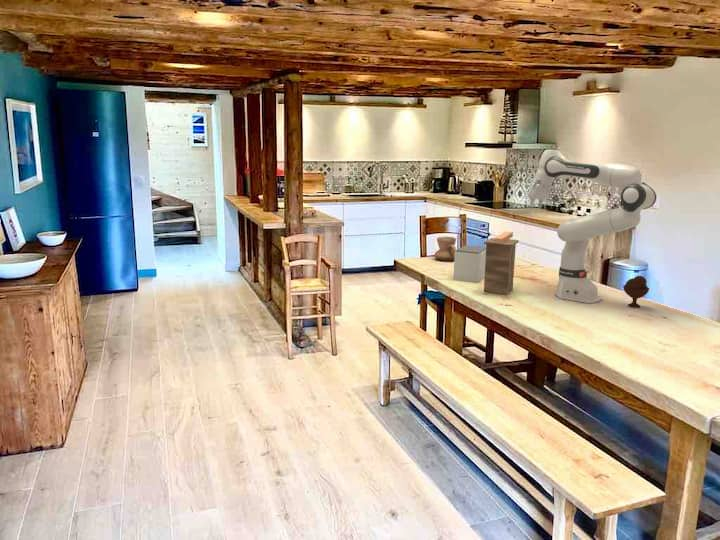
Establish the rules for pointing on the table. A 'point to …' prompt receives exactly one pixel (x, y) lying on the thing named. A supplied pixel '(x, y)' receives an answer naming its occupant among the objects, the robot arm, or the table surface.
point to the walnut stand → (499, 266)
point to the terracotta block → (503, 237)
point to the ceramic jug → (446, 248)
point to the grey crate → (470, 263)
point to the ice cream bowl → (636, 289)
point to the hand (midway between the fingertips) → (534, 207)
